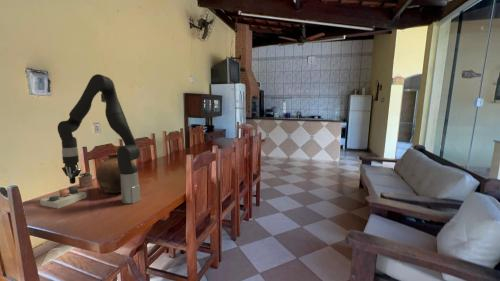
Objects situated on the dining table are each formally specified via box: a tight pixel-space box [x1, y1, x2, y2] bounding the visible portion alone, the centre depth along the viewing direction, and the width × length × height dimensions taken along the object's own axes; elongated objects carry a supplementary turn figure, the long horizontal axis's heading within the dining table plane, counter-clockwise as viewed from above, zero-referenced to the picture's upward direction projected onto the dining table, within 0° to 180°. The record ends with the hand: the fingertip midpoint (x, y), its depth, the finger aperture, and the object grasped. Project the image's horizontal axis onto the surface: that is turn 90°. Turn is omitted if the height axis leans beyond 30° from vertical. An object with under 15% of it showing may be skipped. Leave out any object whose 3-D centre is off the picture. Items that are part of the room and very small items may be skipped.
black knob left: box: [49, 195, 59, 202], centre depth 134 cm, size 4×4×3 cm
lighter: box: [77, 171, 94, 190], centre depth 162 cm, size 8×3×10 cm, turn 149°
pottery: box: [95, 153, 136, 194], centre depth 155 cm, size 23×23×25 cm
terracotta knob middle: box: [58, 188, 69, 197], centre depth 138 cm, size 4×4×3 cm
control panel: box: [39, 189, 88, 209], centre depth 139 cm, size 13×16×3 cm
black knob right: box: [68, 185, 79, 193], centre depth 144 cm, size 4×4×3 cm
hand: (72, 183), depth 143 cm, fingers closed
